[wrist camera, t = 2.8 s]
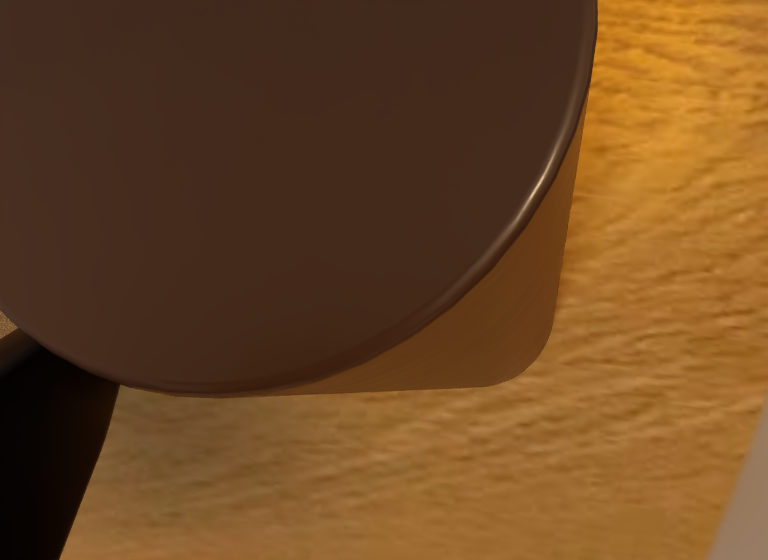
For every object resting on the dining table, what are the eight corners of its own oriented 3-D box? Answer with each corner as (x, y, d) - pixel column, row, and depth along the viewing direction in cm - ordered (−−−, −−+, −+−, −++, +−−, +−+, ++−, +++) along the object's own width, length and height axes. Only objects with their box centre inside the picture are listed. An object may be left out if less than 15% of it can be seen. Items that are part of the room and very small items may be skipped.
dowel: (575, 360, 18) (726, 252, 3) (424, 406, 18) (-34, 489, 4) (524, 213, 18) (457, -420, 4) (381, 261, 19) (-131, -127, 5)
